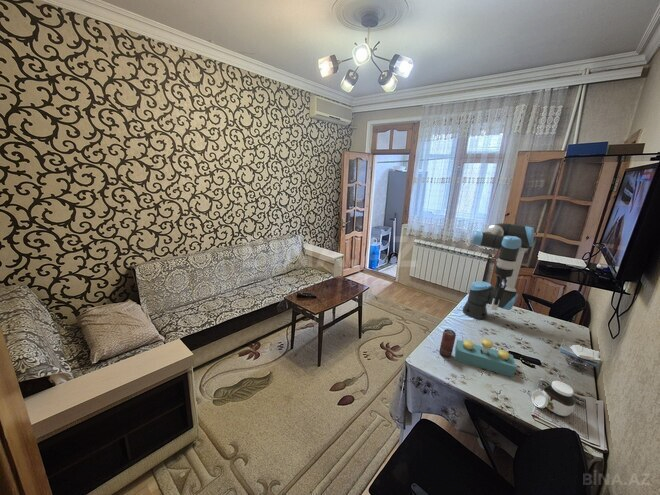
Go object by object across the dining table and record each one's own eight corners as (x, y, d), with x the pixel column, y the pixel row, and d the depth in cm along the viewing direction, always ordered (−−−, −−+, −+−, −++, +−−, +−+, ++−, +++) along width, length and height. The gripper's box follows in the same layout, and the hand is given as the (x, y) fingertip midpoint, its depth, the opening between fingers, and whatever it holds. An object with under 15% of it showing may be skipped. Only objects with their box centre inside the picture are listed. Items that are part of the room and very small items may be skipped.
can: (436, 352, 145) (440, 330, 140) (445, 349, 147) (449, 327, 143) (444, 359, 139) (449, 336, 135) (453, 356, 142) (458, 334, 138)
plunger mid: (478, 349, 140) (481, 337, 138) (489, 352, 139) (492, 340, 136) (479, 355, 136) (482, 343, 134) (490, 358, 134) (493, 345, 132)
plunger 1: (460, 351, 145) (463, 339, 142) (470, 353, 143) (473, 342, 140) (460, 356, 140) (463, 344, 138) (471, 359, 139) (474, 347, 136)
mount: (455, 348, 148) (457, 339, 146) (509, 364, 138) (512, 354, 136) (455, 359, 139) (457, 350, 138) (513, 377, 129) (516, 367, 128)
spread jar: (573, 416, 110) (582, 394, 107) (556, 424, 106) (565, 401, 103) (542, 393, 121) (550, 372, 117) (525, 400, 117) (533, 378, 113)
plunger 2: (494, 360, 138) (497, 348, 136) (505, 363, 137) (508, 351, 134) (495, 366, 134) (499, 354, 132) (506, 370, 132) (510, 357, 130)
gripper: (494, 261, 140) (484, 302, 146) (497, 269, 128) (486, 313, 135) (511, 264, 137) (500, 305, 144) (516, 273, 125) (504, 317, 132)
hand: (493, 309), depth 139 cm, fingers closed
